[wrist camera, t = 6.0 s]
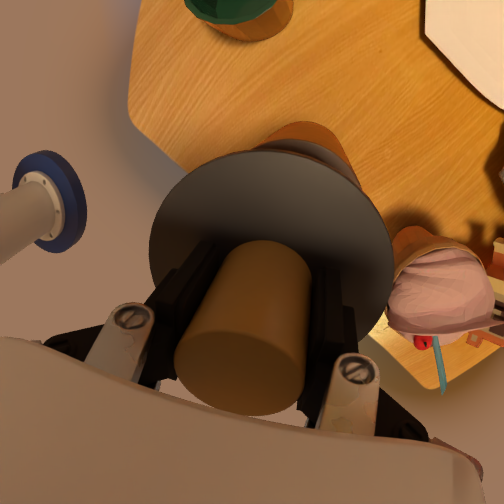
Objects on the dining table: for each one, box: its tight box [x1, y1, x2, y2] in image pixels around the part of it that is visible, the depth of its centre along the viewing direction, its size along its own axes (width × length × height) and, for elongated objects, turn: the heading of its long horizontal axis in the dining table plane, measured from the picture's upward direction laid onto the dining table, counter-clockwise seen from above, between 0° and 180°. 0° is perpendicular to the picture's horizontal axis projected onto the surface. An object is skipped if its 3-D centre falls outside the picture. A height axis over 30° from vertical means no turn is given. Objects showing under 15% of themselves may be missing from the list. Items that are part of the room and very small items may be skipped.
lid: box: [149, 149, 395, 416], centre depth 11 cm, size 10×10×6 cm
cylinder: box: [252, 121, 362, 190], centre depth 27 cm, size 9×9×18 cm
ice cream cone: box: [384, 226, 504, 394], centre depth 27 cm, size 11×11×20 cm
